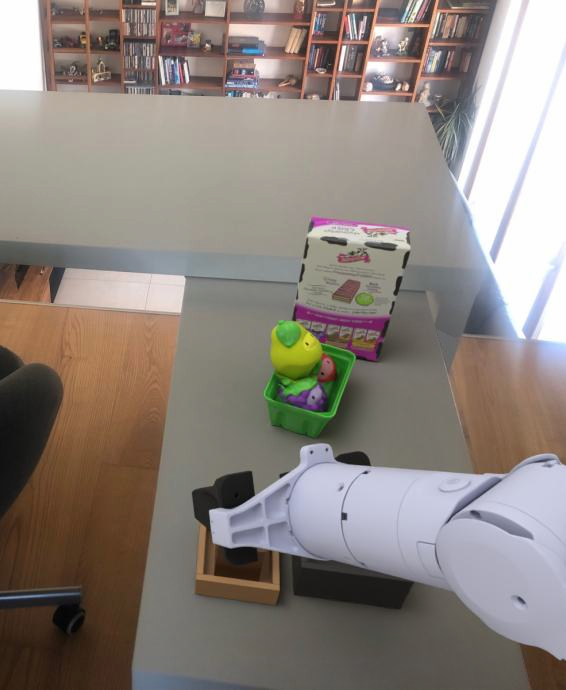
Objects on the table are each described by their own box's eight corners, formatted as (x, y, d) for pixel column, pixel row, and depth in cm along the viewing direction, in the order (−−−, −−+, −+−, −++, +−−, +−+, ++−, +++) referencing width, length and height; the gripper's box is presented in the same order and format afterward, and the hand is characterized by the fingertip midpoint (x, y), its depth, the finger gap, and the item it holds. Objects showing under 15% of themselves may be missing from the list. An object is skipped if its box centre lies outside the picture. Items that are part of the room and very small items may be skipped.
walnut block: (258, 583, 62) (265, 552, 59) (213, 577, 63) (218, 546, 60) (258, 545, 65) (265, 513, 62) (215, 539, 66) (220, 508, 63)
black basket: (400, 609, 61) (414, 582, 58) (293, 594, 62) (301, 567, 59) (386, 521, 68) (397, 493, 65) (289, 510, 69) (297, 481, 66)
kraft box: (275, 605, 61) (279, 590, 60) (194, 594, 62) (196, 579, 61) (274, 536, 67) (278, 520, 65) (199, 526, 68) (201, 511, 66)
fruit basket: (324, 451, 74) (346, 375, 67) (245, 424, 78) (257, 348, 70) (348, 385, 82) (370, 309, 75) (275, 363, 85) (289, 289, 78)
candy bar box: (378, 338, 88) (412, 226, 78) (377, 363, 85) (413, 249, 74) (289, 323, 91) (310, 213, 80) (285, 347, 87) (307, 235, 77)
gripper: (462, 430, 42) (313, 429, 54) (265, 465, 36) (148, 454, 48) (479, 548, 41) (325, 519, 54) (282, 603, 36) (160, 556, 48)
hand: (242, 495), depth 51 cm, fingers open, 7 cm apart
